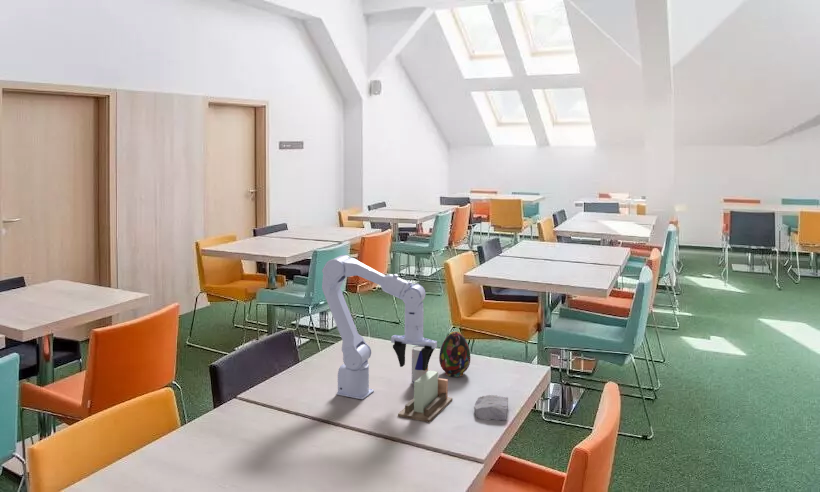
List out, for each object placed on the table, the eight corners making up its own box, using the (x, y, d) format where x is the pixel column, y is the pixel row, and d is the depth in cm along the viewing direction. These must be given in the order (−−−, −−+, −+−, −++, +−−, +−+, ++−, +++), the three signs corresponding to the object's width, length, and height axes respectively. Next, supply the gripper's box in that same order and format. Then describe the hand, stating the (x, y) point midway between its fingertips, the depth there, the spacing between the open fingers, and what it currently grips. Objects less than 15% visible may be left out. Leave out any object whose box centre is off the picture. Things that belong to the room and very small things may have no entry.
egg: (435, 377, 219) (436, 334, 217) (443, 367, 230) (444, 326, 227) (466, 381, 216) (467, 337, 214) (472, 370, 226) (473, 329, 224)
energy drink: (427, 386, 211) (428, 350, 210) (411, 386, 211) (411, 350, 210) (427, 380, 217) (428, 345, 215) (411, 380, 217) (412, 345, 215)
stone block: (475, 425, 187) (509, 421, 185) (472, 409, 186) (506, 405, 184) (477, 410, 198) (510, 406, 197) (474, 395, 198) (507, 391, 196)
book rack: (397, 416, 188) (398, 393, 187) (422, 394, 204) (422, 374, 203) (429, 422, 184) (430, 399, 183) (452, 400, 200) (452, 379, 199)
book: (413, 411, 189) (414, 381, 188) (428, 398, 199) (428, 370, 198) (423, 413, 188) (423, 383, 187) (437, 399, 198) (438, 371, 197)
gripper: (386, 325, 195) (386, 368, 198) (431, 331, 190) (430, 375, 192) (396, 319, 202) (396, 361, 204) (440, 325, 196) (439, 368, 198)
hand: (413, 367), depth 198 cm, fingers open, 7 cm apart
